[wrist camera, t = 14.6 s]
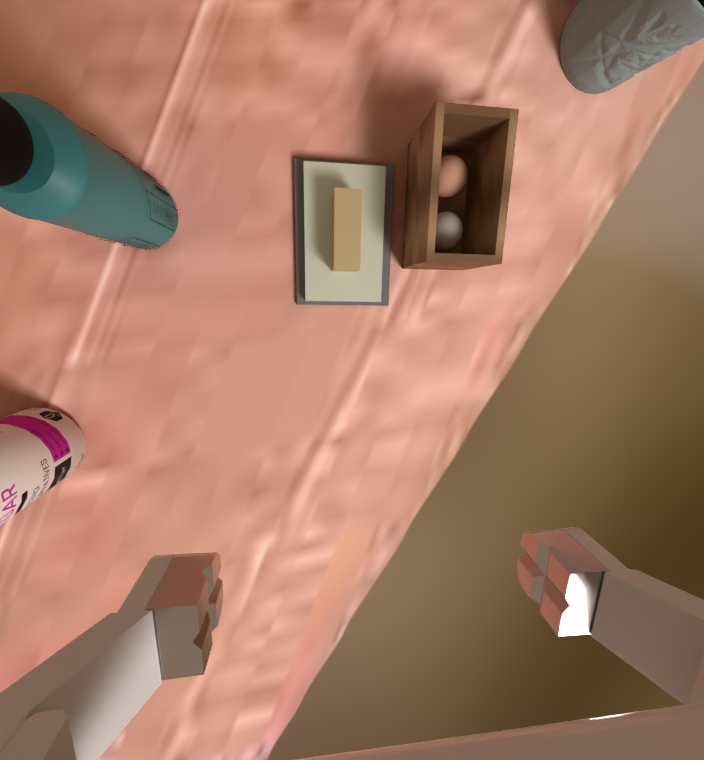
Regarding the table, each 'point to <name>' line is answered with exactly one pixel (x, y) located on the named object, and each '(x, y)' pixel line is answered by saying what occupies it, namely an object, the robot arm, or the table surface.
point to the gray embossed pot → (624, 38)
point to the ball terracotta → (452, 175)
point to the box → (475, 200)
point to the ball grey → (447, 230)
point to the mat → (301, 233)
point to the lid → (343, 231)
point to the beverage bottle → (76, 178)
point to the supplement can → (35, 456)
